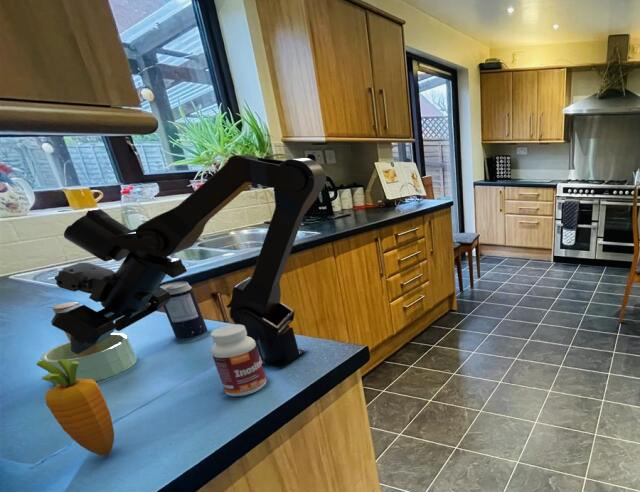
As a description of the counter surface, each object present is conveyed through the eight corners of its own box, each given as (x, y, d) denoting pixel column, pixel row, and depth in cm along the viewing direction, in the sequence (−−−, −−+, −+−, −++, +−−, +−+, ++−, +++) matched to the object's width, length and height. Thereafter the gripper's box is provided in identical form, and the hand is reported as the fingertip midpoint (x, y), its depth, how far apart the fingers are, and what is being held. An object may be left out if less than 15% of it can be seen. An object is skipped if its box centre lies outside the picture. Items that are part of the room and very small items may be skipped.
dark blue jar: (214, 331, 91) (197, 281, 86) (194, 343, 85) (174, 290, 81) (191, 330, 91) (173, 280, 86) (170, 342, 86) (148, 289, 81)
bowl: (153, 361, 78) (142, 335, 76) (85, 392, 69) (70, 365, 66) (111, 355, 81) (99, 330, 79) (39, 384, 71) (24, 357, 69)
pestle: (121, 364, 76) (91, 301, 71) (92, 377, 72) (57, 311, 67) (103, 361, 77) (72, 299, 72) (73, 374, 73) (37, 309, 68)
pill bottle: (244, 400, 66) (224, 340, 61) (216, 394, 67) (194, 336, 63) (275, 380, 71) (258, 324, 66) (249, 375, 73) (230, 320, 68)
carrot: (139, 446, 56) (91, 352, 50) (96, 472, 51) (38, 372, 45) (116, 439, 57) (67, 347, 51) (72, 463, 53) (13, 366, 47)
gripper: (128, 235, 75) (90, 295, 78) (33, 262, 58) (-11, 337, 61) (189, 273, 79) (150, 328, 82) (116, 309, 62) (71, 376, 65)
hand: (96, 340), depth 72 cm, fingers open, 9 cm apart
